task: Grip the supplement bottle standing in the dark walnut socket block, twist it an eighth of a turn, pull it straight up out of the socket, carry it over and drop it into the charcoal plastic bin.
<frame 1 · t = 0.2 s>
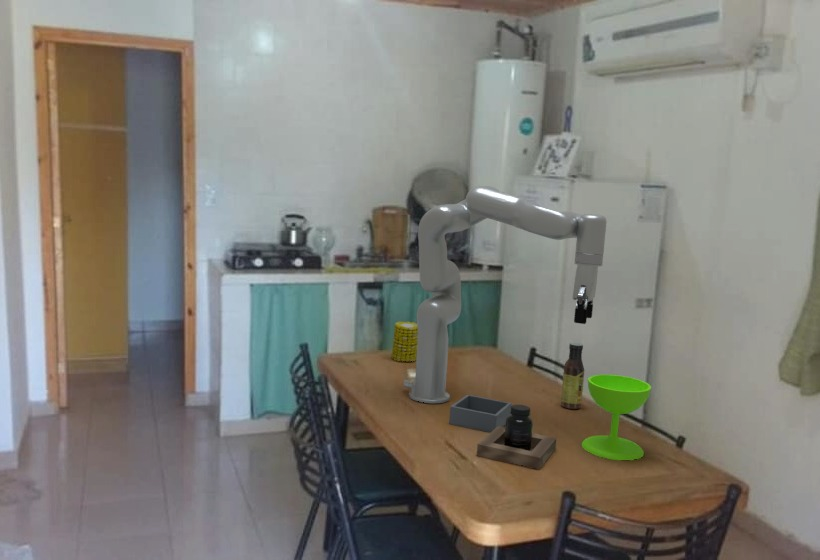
hand: (583, 320, 210), 31 cm above the table, tool pointing down, fingers open, 9 cm apart
socket block: (516, 452, 192), on the table
sauce bottle: (570, 407, 233), on the table
food: (404, 360, 277), on the table
bin: (480, 421, 214), on the table
wineglass: (612, 449, 199), on the table
supplement bottle: (516, 453, 192), resting in socket block
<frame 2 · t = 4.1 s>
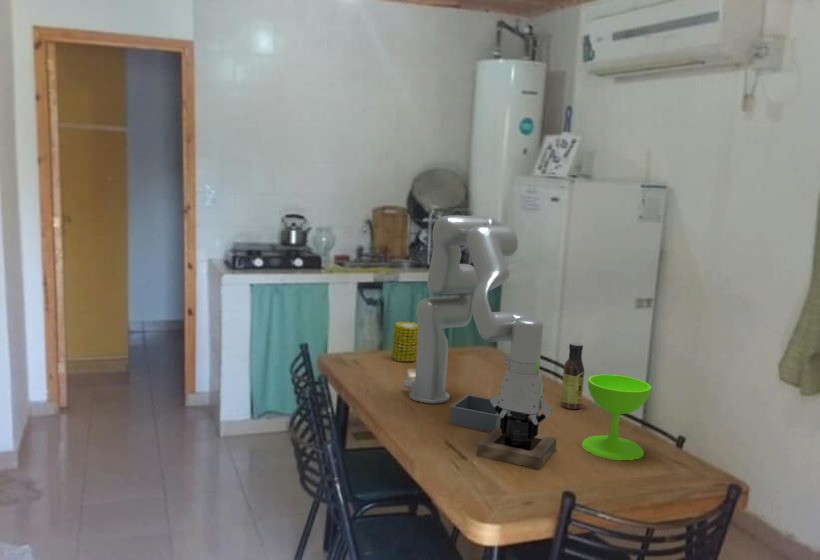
hand: (518, 434, 191), 5 cm above the table, tool pointing down, fingers closed on supplement bottle, 6 cm apart
supplement bottle: (516, 453, 192), resting in socket block, touching gripper
everything else where it was.
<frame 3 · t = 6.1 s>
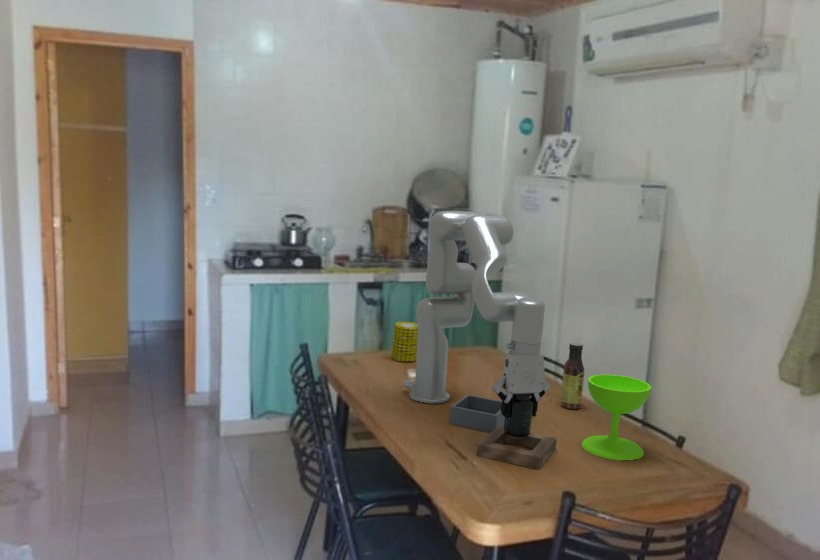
hand: (518, 415, 191), 10 cm above the table, tool pointing down, fingers closed on supplement bottle, 6 cm apart
supplement bottle: (516, 433, 192), point 5 cm above the table, touching gripper
everything else where it was.
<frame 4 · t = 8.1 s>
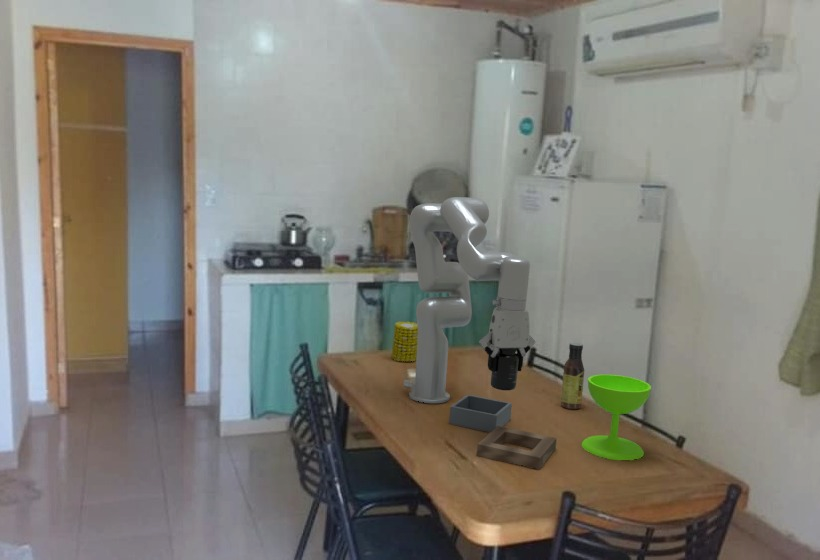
hand: (504, 369, 199), 19 cm above the table, tool pointing down, fingers closed on supplement bottle, 6 cm apart
supplement bottle: (503, 387, 200), point 14 cm above the table, touching gripper
everything else where it was.
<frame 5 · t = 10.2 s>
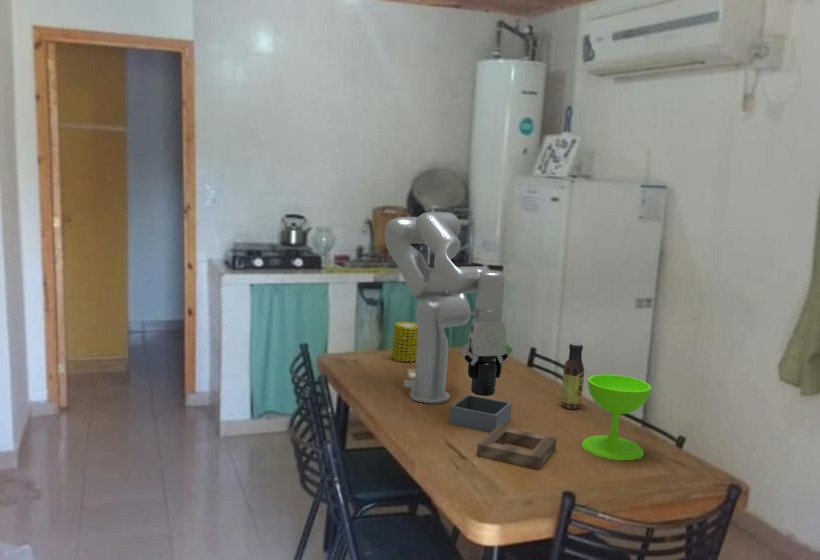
hand: (484, 376, 212), 13 cm above the table, tool pointing down, fingers closed on supplement bottle, 6 cm apart
supplement bottle: (482, 393, 212), point 8 cm above the table, touching gripper
everything else where it was.
when the fingers open (8 cm above the table, at t = 12.0 s): supplement bottle drops 3 cm, resting on bin.
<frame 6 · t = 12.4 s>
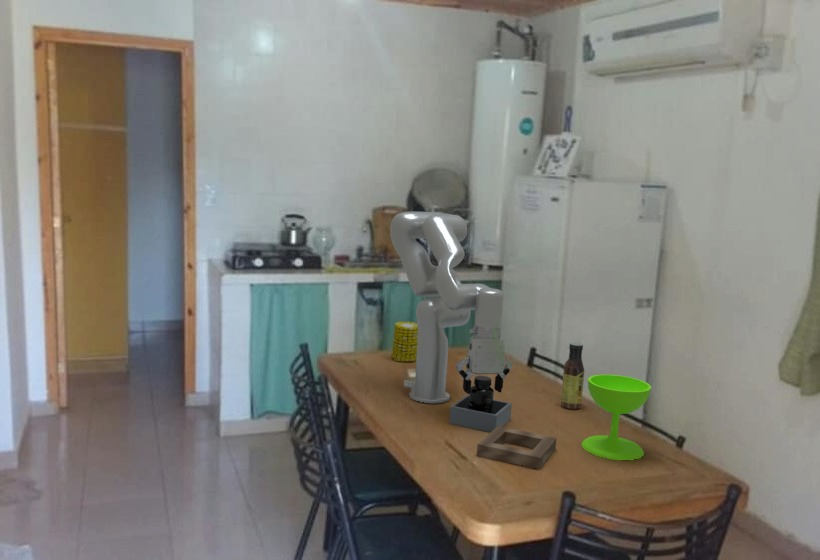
hand: (482, 391, 212), 9 cm above the table, tool pointing down, fingers open, 9 cm apart
supplement bottle: (479, 419, 214), point 1 cm above the table, touching bin
everything else where it was.
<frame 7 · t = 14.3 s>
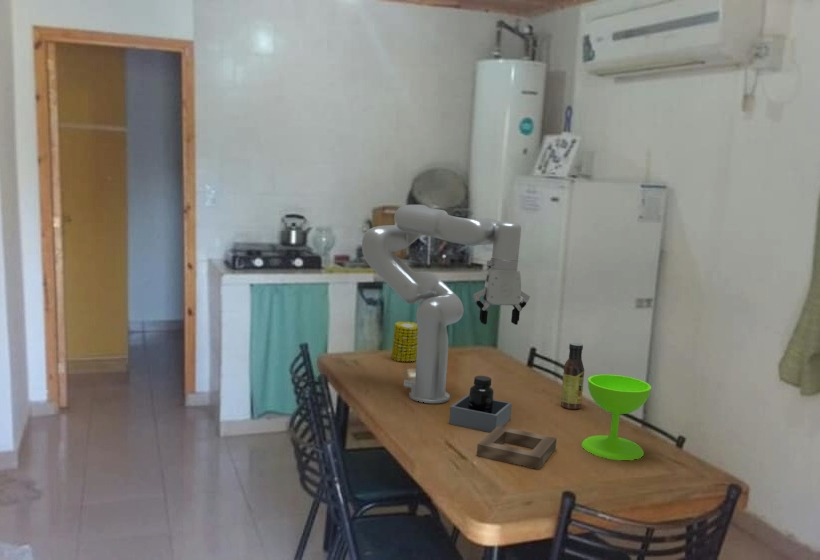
hand: (498, 323, 218), 27 cm above the table, tool pointing down, fingers open, 9 cm apart
nothing on the table moved.
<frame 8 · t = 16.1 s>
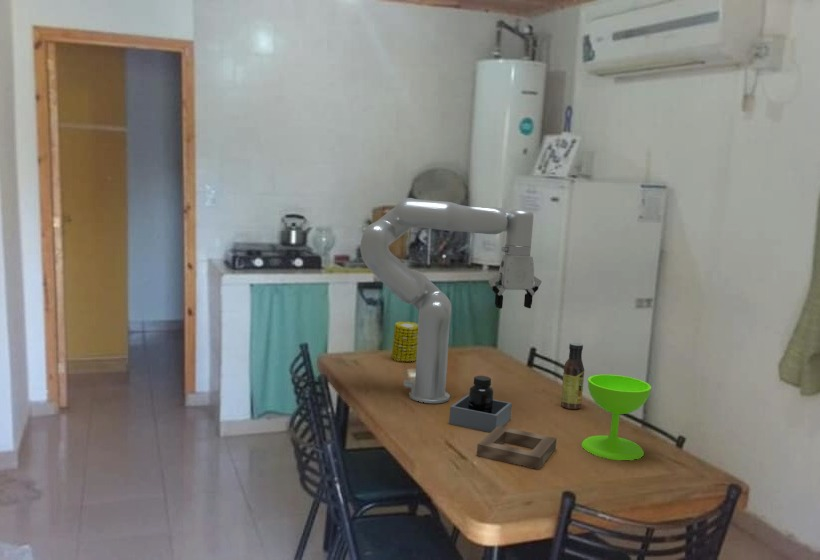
hand: (513, 307, 227), 30 cm above the table, tool pointing down, fingers open, 9 cm apart
nothing on the table moved.
at the end: supplement bottle inside the target area on the bin (0.3 cm from its centre), point 0.6 cm above the bin's base; the gripper is holding nothing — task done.
